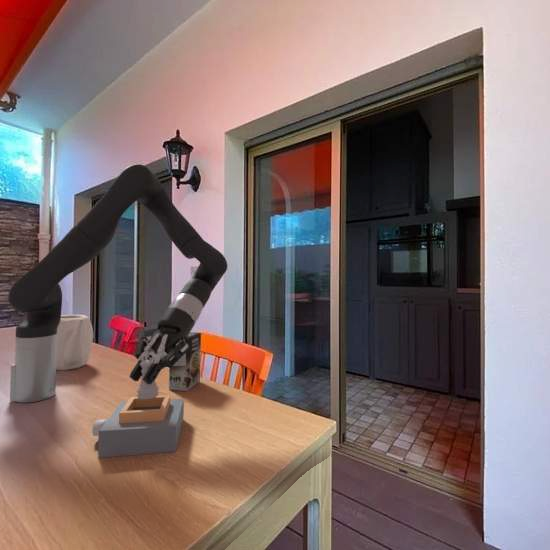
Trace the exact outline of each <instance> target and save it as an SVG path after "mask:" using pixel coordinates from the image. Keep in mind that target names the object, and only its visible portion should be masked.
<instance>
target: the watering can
mask: <svg viewBox="0 0 550 550" xmlns="http://www.w3.org/2000/svg"><path fill="white" fill-rule="evenodd" d="M93 329H94V328H93V325H92V322H91V319H90V317H89V316H87V315H85V314H61V320H60V323H59V325H58V328H57V351H56V371H67V370H69V371H70V370H72V369H79V368H81V367H83V366H85V365H87V364H88V361H89V358H90V355H91V352H92V348H93V342H94V340H93V339H94V330H93Z"/></svg>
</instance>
